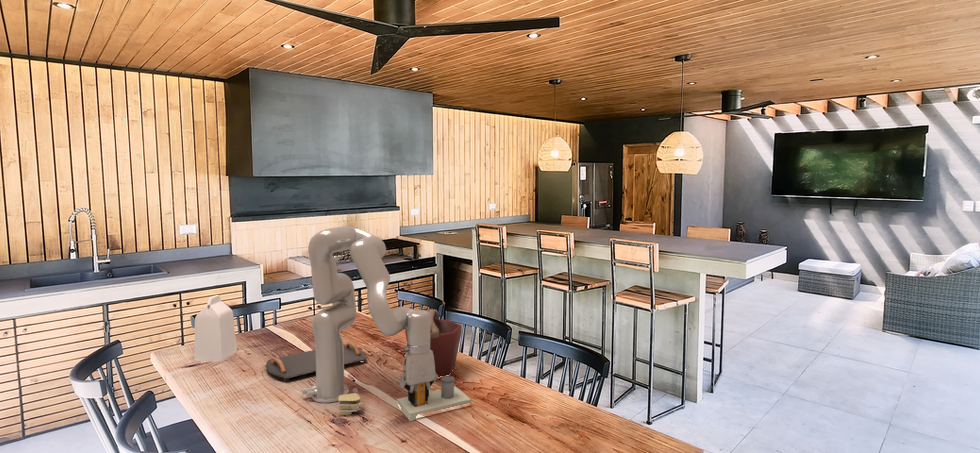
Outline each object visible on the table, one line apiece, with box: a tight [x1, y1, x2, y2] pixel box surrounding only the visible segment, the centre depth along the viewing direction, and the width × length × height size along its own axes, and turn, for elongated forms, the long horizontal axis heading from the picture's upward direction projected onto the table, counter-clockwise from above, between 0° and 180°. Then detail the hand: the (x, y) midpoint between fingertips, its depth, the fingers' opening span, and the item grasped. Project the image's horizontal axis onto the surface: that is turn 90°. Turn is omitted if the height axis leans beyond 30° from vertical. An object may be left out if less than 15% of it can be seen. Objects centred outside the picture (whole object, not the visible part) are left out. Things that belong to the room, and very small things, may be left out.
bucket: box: [404, 309, 463, 377], centre depth 198 cm, size 24×22×25 cm
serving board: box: [265, 341, 367, 383], centre depth 205 cm, size 39×23×6 cm, turn 131°
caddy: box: [396, 375, 472, 422], centre depth 169 cm, size 22×12×9 cm, turn 120°
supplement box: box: [412, 383, 425, 407], centre depth 166 cm, size 3×3×10 cm
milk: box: [194, 294, 238, 363], centre depth 212 cm, size 12×12×26 cm
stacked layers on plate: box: [338, 392, 361, 416], centre depth 164 cm, size 10×9×6 cm
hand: (418, 400), depth 167 cm, fingers closed on supplement box, 4 cm apart
